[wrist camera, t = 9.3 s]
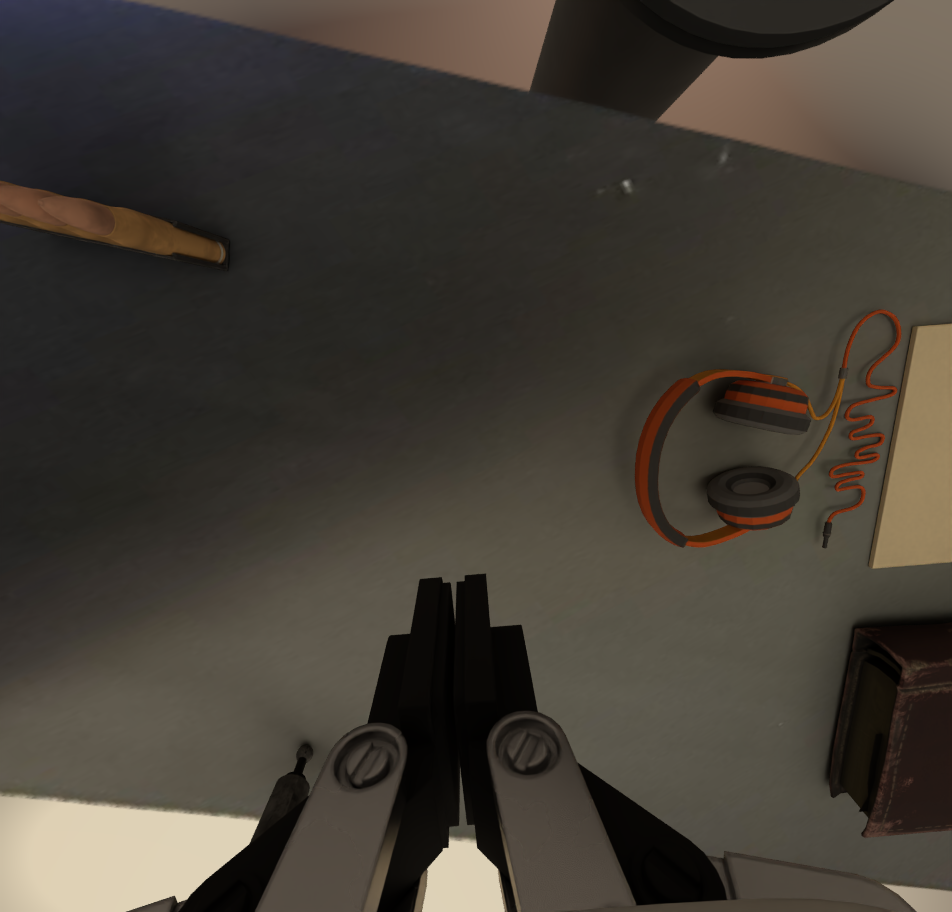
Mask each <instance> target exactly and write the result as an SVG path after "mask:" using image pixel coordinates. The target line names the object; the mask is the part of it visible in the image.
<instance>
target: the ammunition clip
mask: <svg viewBox="0 0 952 912" xmlns="http://www.w3.org/2000/svg"><path fill="white" fill-rule="evenodd" d="M0 223H3V224H8V225H12V226H17V227H21V228H26V229H30V230H35V231H40V232H44V233H49V234H54V235H58V236H63V237H68V238H72V239H77V240H82V241H87V242H91V243H96V244H101V245H105V246H110V247H115V248H120V249H124V250H129V251H134V252H138V253H143V254H148V255H153V256H157V257H162V258H167V259H171V260H176V261H181V262H186V263H190V264H195V265H200V266H204V267H209V268H214V269H219V270H223V271H227V270H228V256H229V240H228V239H226V238H223V237H220V236H217V235H214V234H212V233H209V232H206V231H203V230H200V229H197V228H195V227H192V226H189V225H186V224H183V223H180V222H178V221H175V220H170V219H165V218H161V217H156V216H152V215H147V214H143V213H140V212H137V211H134V210H131V209H127V208H122V207H111V206H106V205H103V204H100V203H97V202H93V201H90V200H86V199H81V198H71V197H65V196H62V195H59V194H56V193H53V192H49V191H45V190H40V189H31V188H26V187H21V186H18V185H15V184H11V183H8V182H4V181H0Z"/></svg>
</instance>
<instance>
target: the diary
mask: <svg viewBox="0 0 952 912" xmlns="http://www.w3.org/2000/svg"><path fill="white" fill-rule="evenodd" d="M854 632H855V635H854V640H853V645H852V649H853V652H851V656H850V661H849V666H848V672H847V677H846V682H845V688H844V693H843V698H842V703H841V709H840V714H839V719H838V725H837V730H836V735H835V741H834V746H833V754H832V762H831V771H830V779H829V786H830V793H831V797H833V798H835V797H836V796H837V795H839V794H840V793H846V792H847V793H848V794H849V795H850V796H851V797H852V799H853V800H854V801H855V802H856V803H857V805H858V806H859V807H860V808H861V809H860V810H859V812H862V811H863V812H864V813H865V814H866V816H867V817H868V821H867V825H866V828H865V829H864V831H863V832H862V833H861V834H862V836H863V837H865V838H866V837H878V836H889V835H901V834H912V833H924V832H935V831H947V830H952V623H943V624H930V625H909V626H887V627H868V628H857V629H855V630H854Z"/></svg>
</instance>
